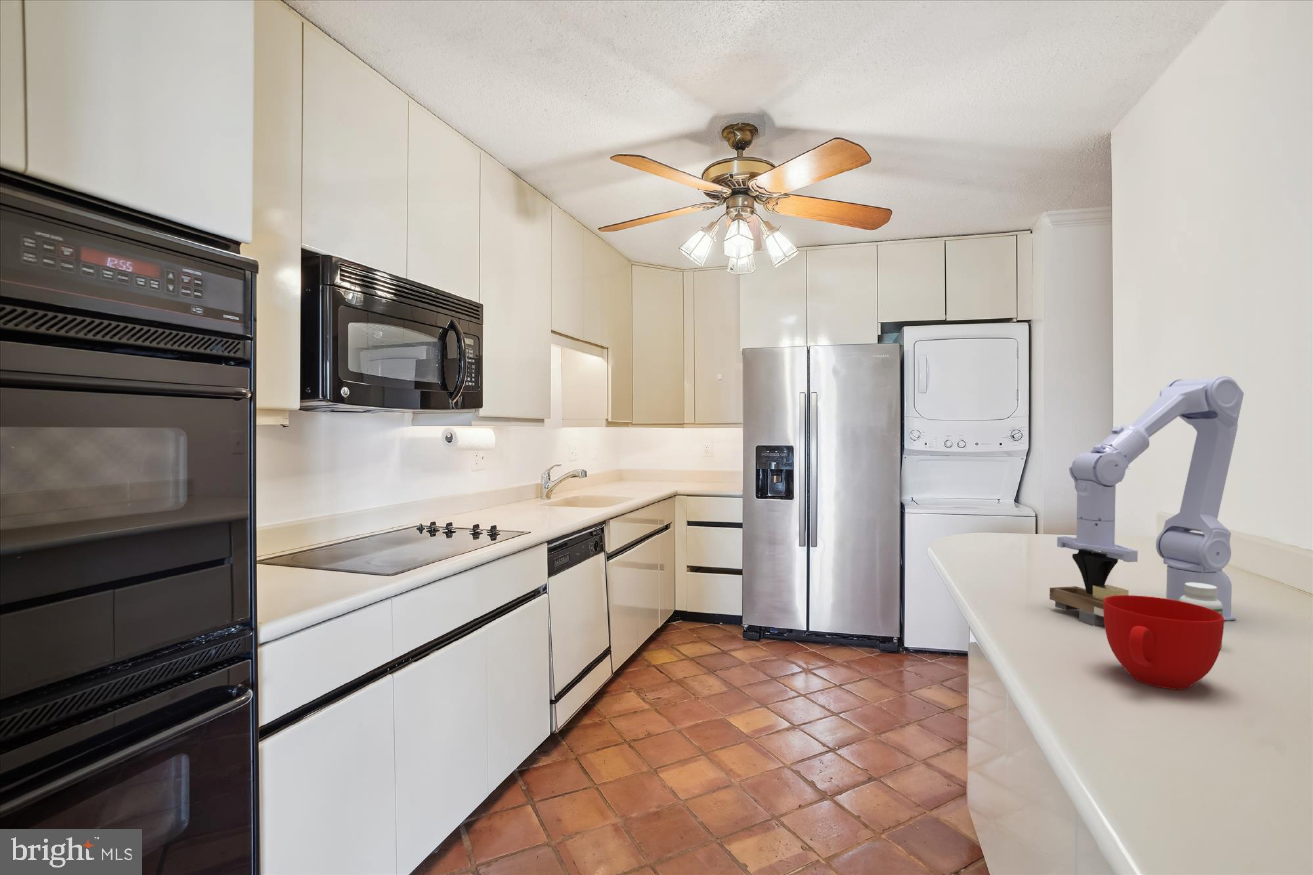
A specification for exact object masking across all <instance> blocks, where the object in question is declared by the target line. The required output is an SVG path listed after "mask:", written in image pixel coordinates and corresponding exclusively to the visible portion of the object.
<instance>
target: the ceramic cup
mask: <svg viewBox="0 0 1313 875" xmlns="http://www.w3.org/2000/svg"><path fill="white" fill-rule="evenodd" d="M1103 612H1104V624H1105V625H1104V631H1105V634H1106V639H1107V642H1108V645H1109V647H1110V650H1111V651H1112V654H1113V655H1114V657H1115V658H1116V660H1118V662H1119V663H1120V664H1121V666H1122V668H1124V669H1125V671H1126V672H1127V673H1128V674H1129V676H1130V677H1131V678H1133V679H1134V680H1136V681H1138V682H1141V683H1144V684H1147V685H1150V686H1154V687H1158V688H1162V689H1170V690H1171V689H1172V690H1187V689H1189V688H1191V687H1192V686H1193V685H1194V684H1195V683H1197V682H1199V681H1201V680H1202V679H1203V678H1205V677H1206V676H1207V675H1208V673H1210V671H1211V670H1212V668H1213V667H1214V665H1215V663H1216V662H1217V659H1218V658H1219V654H1220V651H1221V648H1222V646H1221V643H1222V644H1223V635H1224V625H1225V620H1224V617H1223V616H1222V615H1221V614H1220V613H1218V612H1216V611H1214V610H1212V609H1209V608H1206V607H1202V606H1199V605H1195V604H1191V603H1187V602H1182V601H1176V600H1171V599H1166V598H1163V597H1157V596H1156V597H1155V596H1148V595H1147V596H1146V595H1130V594H1128V595H1117V596H1109V597H1106V598H1105V599H1104V600H1103Z"/></svg>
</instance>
